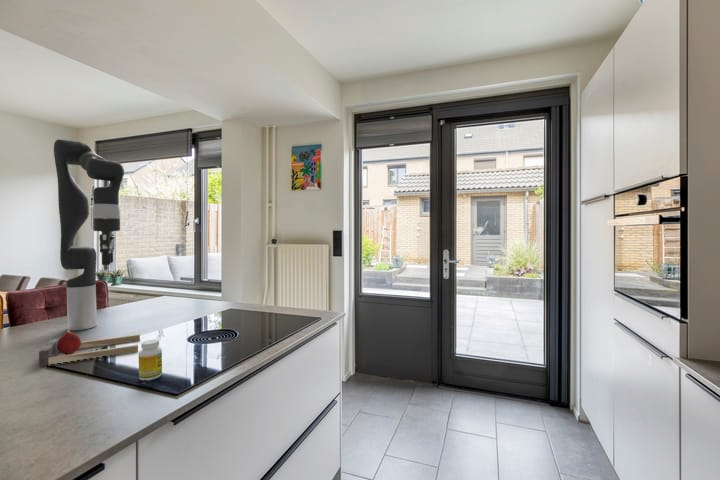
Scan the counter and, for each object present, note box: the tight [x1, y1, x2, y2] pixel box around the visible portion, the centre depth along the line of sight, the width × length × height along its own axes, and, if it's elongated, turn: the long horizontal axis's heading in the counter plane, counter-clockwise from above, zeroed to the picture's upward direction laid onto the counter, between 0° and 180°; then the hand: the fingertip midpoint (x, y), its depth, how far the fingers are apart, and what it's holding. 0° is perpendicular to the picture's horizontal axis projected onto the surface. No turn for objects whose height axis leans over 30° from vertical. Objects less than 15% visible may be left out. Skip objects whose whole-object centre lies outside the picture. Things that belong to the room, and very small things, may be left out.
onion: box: [57, 329, 82, 355], centre depth 107 cm, size 6×6×8 cm
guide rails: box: [38, 333, 141, 368], centre depth 110 cm, size 14×24×4 cm, turn 121°
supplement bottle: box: [138, 339, 163, 381], centre depth 91 cm, size 5×5×10 cm
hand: (107, 263), depth 118 cm, fingers open, 8 cm apart
